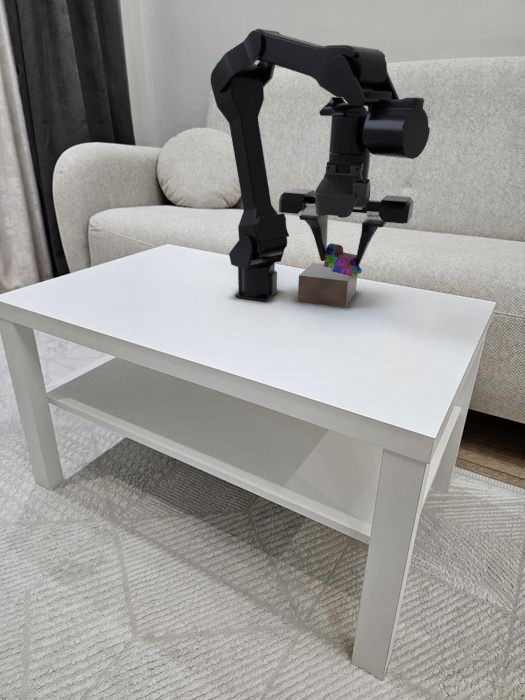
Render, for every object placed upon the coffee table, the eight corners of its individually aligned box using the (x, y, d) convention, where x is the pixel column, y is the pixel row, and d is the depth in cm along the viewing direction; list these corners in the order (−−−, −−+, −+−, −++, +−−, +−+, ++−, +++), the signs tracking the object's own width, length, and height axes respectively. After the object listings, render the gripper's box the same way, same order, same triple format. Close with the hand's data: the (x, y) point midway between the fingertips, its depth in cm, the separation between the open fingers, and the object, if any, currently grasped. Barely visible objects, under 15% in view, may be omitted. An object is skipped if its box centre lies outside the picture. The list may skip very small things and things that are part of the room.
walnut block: (297, 301, 88) (298, 275, 86) (311, 286, 96) (312, 262, 93) (345, 307, 85) (347, 281, 83) (355, 292, 93) (358, 267, 90)
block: (319, 268, 74) (320, 246, 72) (334, 262, 76) (335, 241, 75) (352, 276, 70) (354, 253, 69) (366, 270, 73) (368, 248, 71)
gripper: (265, 154, 62) (264, 269, 69) (411, 161, 56) (393, 287, 63) (293, 149, 72) (289, 251, 79) (421, 154, 65) (404, 264, 72)
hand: (339, 262), depth 73 cm, fingers closed on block, 5 cm apart
